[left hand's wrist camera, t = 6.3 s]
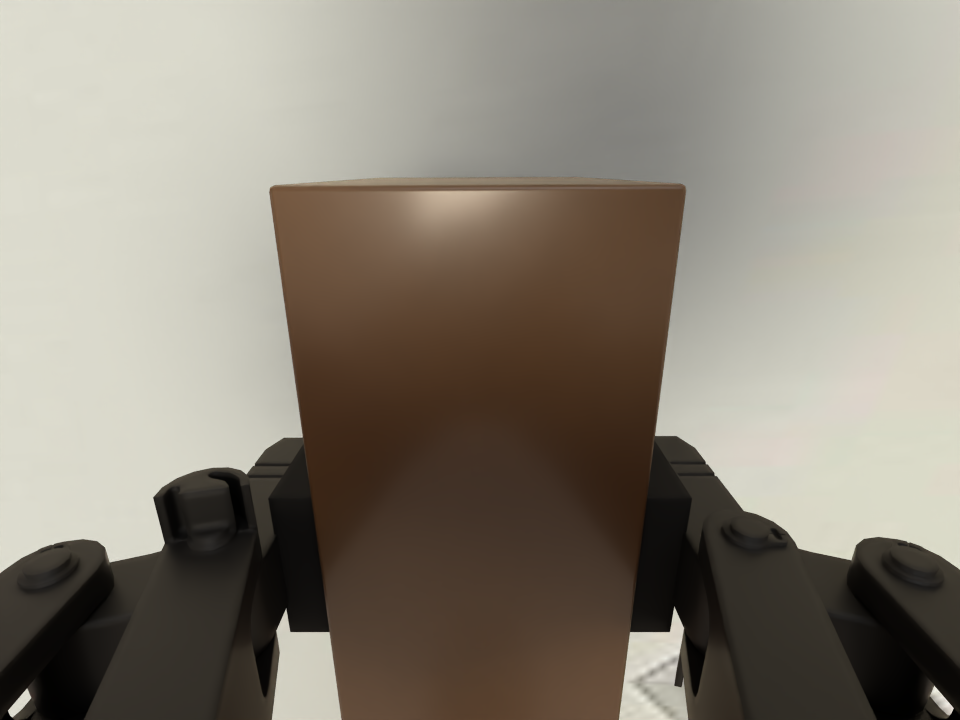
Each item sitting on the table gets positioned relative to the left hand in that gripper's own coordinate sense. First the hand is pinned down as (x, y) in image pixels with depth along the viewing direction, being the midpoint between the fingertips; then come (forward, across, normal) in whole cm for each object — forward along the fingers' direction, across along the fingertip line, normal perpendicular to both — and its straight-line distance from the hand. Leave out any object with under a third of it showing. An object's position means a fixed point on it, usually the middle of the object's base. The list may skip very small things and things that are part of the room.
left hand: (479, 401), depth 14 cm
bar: (+1, 0, -21) cm, 21 cm away
